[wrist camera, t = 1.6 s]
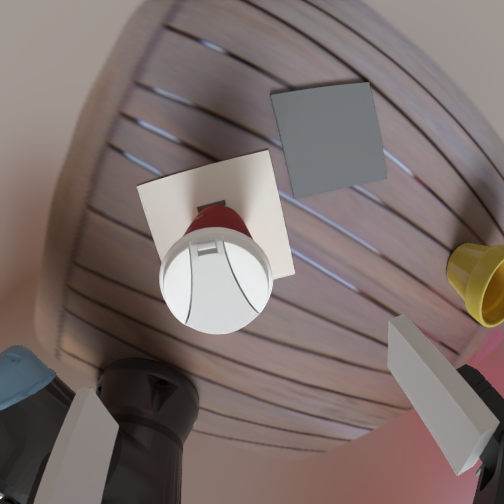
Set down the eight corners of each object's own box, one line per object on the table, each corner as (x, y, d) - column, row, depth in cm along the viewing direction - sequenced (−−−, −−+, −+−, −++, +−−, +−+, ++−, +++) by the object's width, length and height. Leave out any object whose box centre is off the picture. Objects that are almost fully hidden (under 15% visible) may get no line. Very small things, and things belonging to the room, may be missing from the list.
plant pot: (490, 231, 36) (535, 253, 27) (474, 293, 40) (512, 323, 31) (445, 227, 35) (494, 252, 26) (429, 297, 39) (468, 333, 30)
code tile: (177, 302, 35) (176, 303, 35) (137, 186, 30) (136, 186, 30) (295, 273, 35) (295, 273, 35) (268, 149, 31) (268, 150, 30)
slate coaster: (293, 197, 32) (294, 198, 32) (270, 96, 29) (270, 95, 28) (384, 177, 32) (387, 178, 32) (366, 83, 29) (368, 82, 28)
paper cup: (175, 201, 31) (142, 244, 18) (249, 189, 32) (268, 223, 18) (190, 271, 34) (173, 348, 21) (259, 259, 34) (281, 332, 21)
